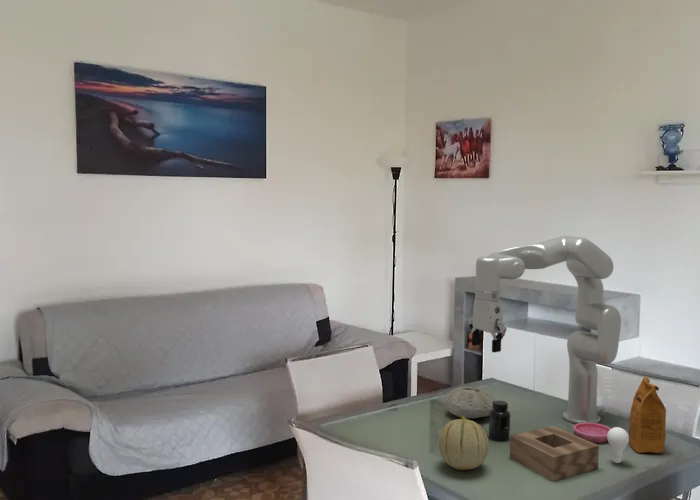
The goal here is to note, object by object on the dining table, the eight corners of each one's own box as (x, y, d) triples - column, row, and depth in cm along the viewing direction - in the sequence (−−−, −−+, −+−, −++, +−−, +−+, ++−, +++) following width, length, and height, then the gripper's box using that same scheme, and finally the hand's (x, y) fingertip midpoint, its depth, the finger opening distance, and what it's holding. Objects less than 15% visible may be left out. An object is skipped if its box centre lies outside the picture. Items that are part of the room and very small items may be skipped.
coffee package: (657, 441, 215) (660, 375, 213) (667, 456, 203) (671, 387, 201) (624, 439, 217) (627, 373, 215) (633, 454, 205) (636, 385, 203)
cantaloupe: (455, 482, 185) (456, 430, 183) (428, 462, 198) (429, 414, 197) (498, 473, 191) (500, 423, 189) (470, 454, 204) (471, 407, 203)
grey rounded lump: (473, 404, 250) (473, 379, 250) (506, 419, 235) (507, 391, 234) (436, 413, 241) (436, 386, 240) (468, 428, 226) (469, 400, 225)
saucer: (568, 439, 217) (568, 430, 216) (578, 428, 227) (579, 419, 227) (607, 448, 210) (608, 438, 210) (616, 436, 220) (617, 426, 220)
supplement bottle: (510, 442, 214) (511, 406, 212) (488, 441, 215) (489, 405, 214) (509, 434, 220) (510, 400, 219) (488, 433, 222) (489, 398, 220)
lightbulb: (602, 459, 201) (603, 424, 200) (621, 458, 201) (623, 423, 200) (611, 467, 195) (613, 431, 194) (631, 467, 195) (633, 431, 194)
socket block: (552, 447, 210) (553, 425, 209) (598, 468, 194) (599, 445, 193) (509, 457, 202) (510, 435, 201) (553, 481, 186) (554, 457, 185)
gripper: (515, 298, 204) (513, 353, 205) (478, 291, 219) (477, 341, 220) (496, 300, 200) (495, 356, 202) (460, 292, 215) (459, 344, 217)
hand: (486, 348), depth 211 cm, fingers open, 9 cm apart
